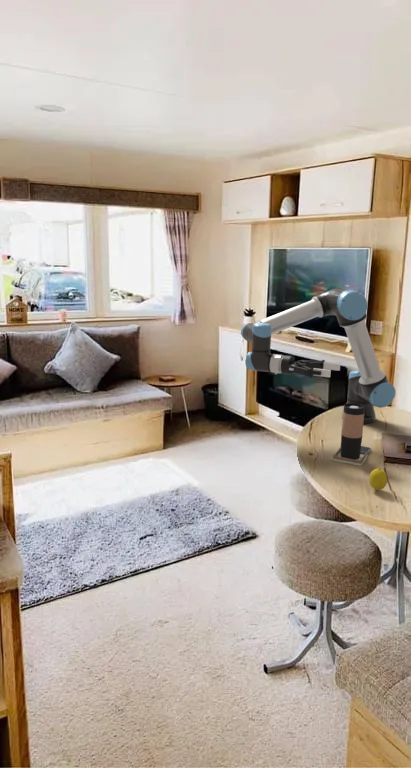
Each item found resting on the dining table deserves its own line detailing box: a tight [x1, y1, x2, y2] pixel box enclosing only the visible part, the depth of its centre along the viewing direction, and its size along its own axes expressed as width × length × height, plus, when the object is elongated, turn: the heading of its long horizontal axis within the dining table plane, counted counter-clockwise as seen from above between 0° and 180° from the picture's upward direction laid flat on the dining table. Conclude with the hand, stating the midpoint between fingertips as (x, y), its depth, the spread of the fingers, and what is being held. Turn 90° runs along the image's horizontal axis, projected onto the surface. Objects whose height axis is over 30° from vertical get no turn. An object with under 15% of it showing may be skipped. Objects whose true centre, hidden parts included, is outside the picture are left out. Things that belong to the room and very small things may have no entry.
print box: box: [332, 446, 369, 467], centre depth 212 cm, size 11×11×2 cm
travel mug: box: [340, 403, 365, 460], centre depth 210 cm, size 8×8×20 cm
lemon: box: [368, 467, 388, 492], centre depth 183 cm, size 6×6×8 cm
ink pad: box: [361, 445, 372, 456], centre depth 220 cm, size 8×10×1 cm
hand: (335, 370), depth 214 cm, fingers open, 13 cm apart
